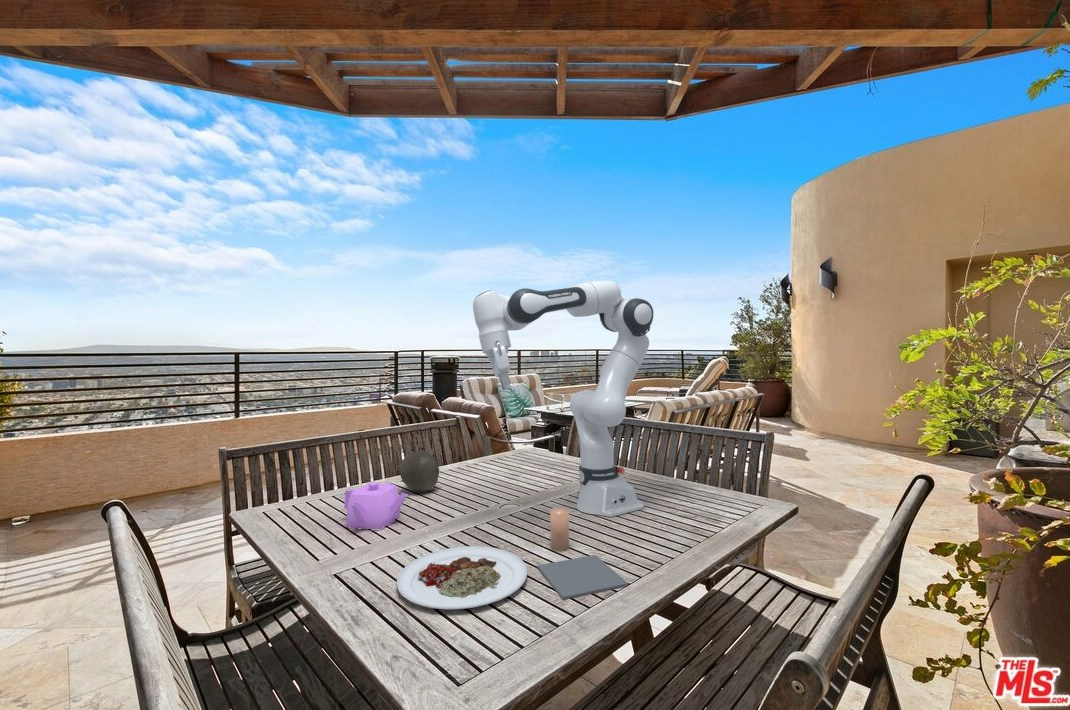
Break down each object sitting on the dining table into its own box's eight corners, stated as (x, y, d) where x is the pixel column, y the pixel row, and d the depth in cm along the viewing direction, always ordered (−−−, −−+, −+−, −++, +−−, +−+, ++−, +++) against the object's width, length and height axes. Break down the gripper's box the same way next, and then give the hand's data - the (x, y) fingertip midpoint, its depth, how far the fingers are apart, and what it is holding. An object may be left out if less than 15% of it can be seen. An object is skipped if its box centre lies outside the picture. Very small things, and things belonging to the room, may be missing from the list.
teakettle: (392, 509, 163) (391, 472, 163) (410, 524, 149) (409, 484, 149) (339, 520, 153) (338, 481, 153) (353, 537, 139) (352, 494, 139)
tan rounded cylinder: (564, 542, 133) (564, 506, 133) (572, 549, 129) (571, 512, 128) (547, 545, 132) (547, 508, 131) (554, 552, 127) (554, 514, 127)
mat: (595, 557, 124) (595, 554, 124) (628, 585, 109) (628, 583, 109) (536, 567, 118) (536, 565, 118) (563, 599, 103) (563, 597, 103)
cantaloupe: (427, 484, 192) (426, 446, 192) (446, 491, 181) (445, 452, 181) (394, 491, 182) (393, 452, 182) (412, 500, 172) (411, 458, 172)
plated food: (543, 602, 103) (543, 586, 103) (397, 628, 94) (397, 610, 94) (510, 546, 131) (510, 534, 131) (396, 562, 123) (396, 549, 123)
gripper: (508, 336, 135) (519, 384, 134) (504, 346, 155) (514, 388, 154) (486, 341, 134) (497, 389, 133) (484, 351, 154) (494, 393, 153)
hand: (506, 389), depth 144 cm, fingers open, 8 cm apart
